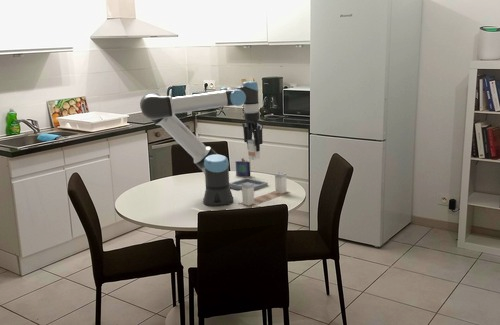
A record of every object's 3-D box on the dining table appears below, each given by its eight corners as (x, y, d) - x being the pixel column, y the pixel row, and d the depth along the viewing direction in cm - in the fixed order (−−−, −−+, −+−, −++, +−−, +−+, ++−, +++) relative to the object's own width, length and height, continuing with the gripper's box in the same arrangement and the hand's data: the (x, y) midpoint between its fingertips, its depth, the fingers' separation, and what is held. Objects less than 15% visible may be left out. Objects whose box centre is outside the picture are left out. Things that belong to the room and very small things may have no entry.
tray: (249, 192, 266) (249, 188, 265) (228, 187, 277) (228, 183, 276) (267, 186, 275) (267, 182, 275) (246, 182, 286) (246, 177, 286)
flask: (235, 175, 301) (234, 158, 299) (237, 174, 304) (236, 157, 302) (249, 176, 298) (248, 159, 295) (251, 175, 300) (250, 158, 298)
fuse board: (250, 208, 241) (249, 206, 241) (238, 205, 246) (238, 203, 246) (290, 193, 261) (290, 192, 261) (279, 191, 267) (279, 189, 267)
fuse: (248, 205, 243) (247, 185, 240) (242, 203, 246) (241, 184, 243) (254, 203, 246) (253, 183, 243) (248, 201, 248) (247, 182, 246)
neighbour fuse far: (281, 193, 259) (281, 175, 257) (275, 192, 262) (274, 173, 260) (286, 192, 262) (286, 173, 260) (280, 190, 265) (280, 172, 263)
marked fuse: (254, 160, 261) (253, 141, 259) (248, 158, 264) (247, 140, 262) (259, 158, 264) (258, 139, 261) (254, 157, 267) (253, 138, 264)
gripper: (268, 112, 254) (270, 157, 260) (246, 110, 267) (248, 153, 272) (257, 114, 249) (259, 160, 255) (235, 111, 262) (237, 155, 268)
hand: (254, 156), depth 264 cm, fingers closed on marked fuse, 4 cm apart
